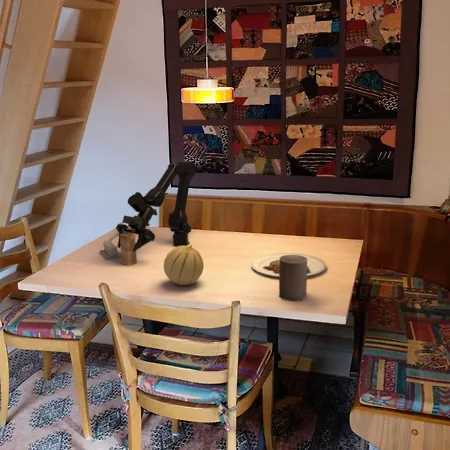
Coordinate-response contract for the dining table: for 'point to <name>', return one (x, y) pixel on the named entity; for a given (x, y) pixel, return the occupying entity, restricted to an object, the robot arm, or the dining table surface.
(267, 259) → the plated food
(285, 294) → the pillar candle
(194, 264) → the cantaloupe
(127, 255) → the walnut post
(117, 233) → the caliper
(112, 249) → the grey box
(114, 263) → the dining table surface
